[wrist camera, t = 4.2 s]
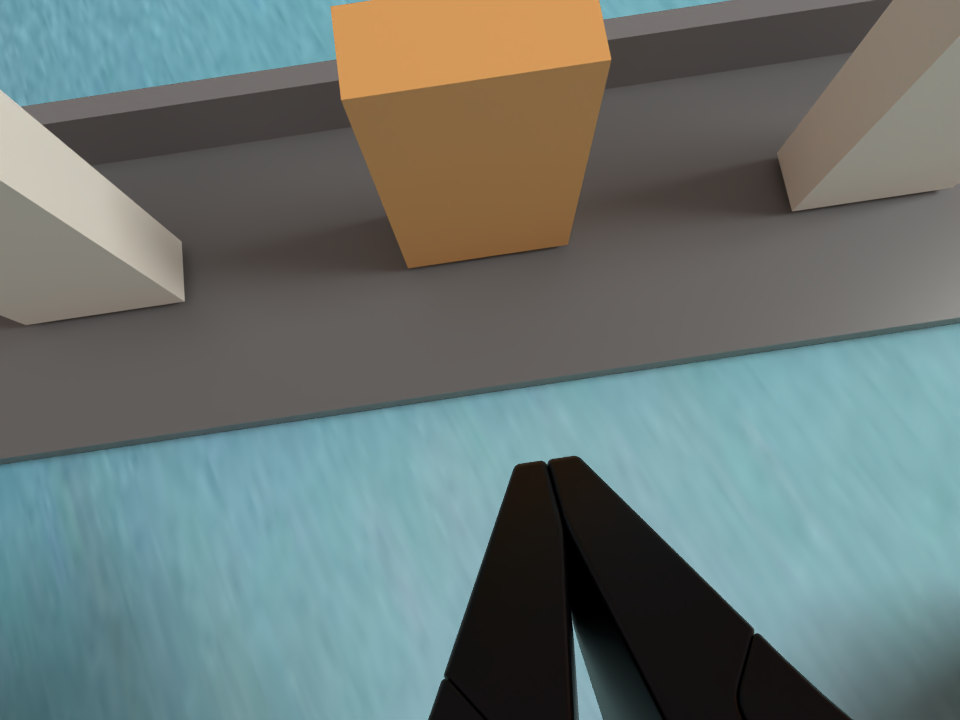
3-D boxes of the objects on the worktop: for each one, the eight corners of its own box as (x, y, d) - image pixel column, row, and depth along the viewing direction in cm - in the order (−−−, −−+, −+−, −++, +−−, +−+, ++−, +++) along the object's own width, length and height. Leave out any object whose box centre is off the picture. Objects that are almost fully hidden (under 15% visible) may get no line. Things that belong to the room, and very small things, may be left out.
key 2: (184, 301, 22) (-37, 156, 13) (25, 325, 22) (-306, 196, 13) (181, 241, 22) (-35, 60, 13) (25, 264, 22) (-294, 99, 13)
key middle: (567, 244, 21) (611, 59, 13) (408, 268, 21) (341, 99, 13) (556, 186, 22) (592, -33, 13) (400, 208, 22) (330, 6, 13)
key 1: (952, 187, 21) (1263, -38, 13) (791, 211, 21) (991, 2, 13) (934, 129, 22) (1222, -128, 13) (776, 153, 22) (959, -88, 13)
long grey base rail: (1042, 311, 22) (1141, 273, 18) (-25, 468, 22) (-123, 459, 19) (950, 36, 24) (1024, -43, 21) (-21, 180, 24) (-107, 125, 21)
